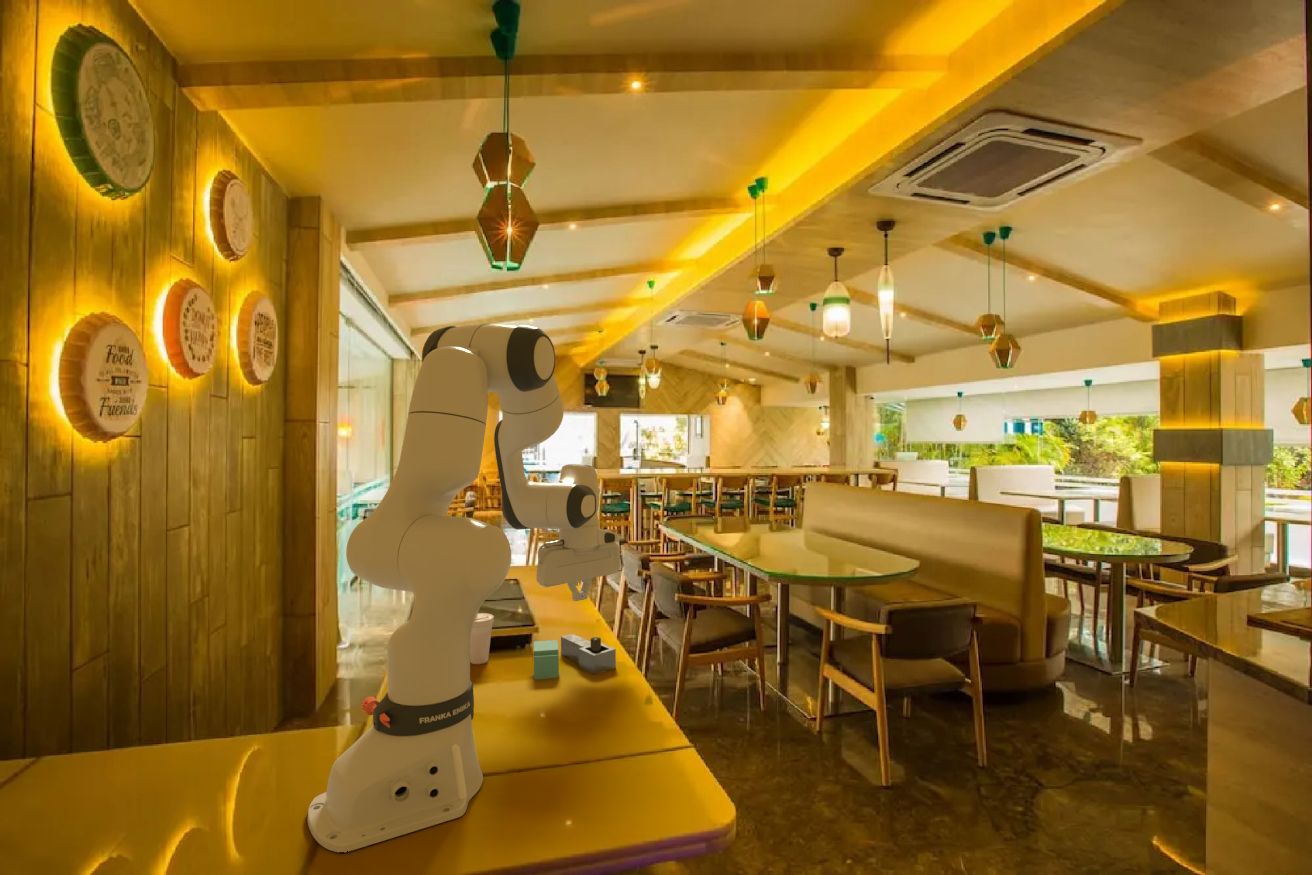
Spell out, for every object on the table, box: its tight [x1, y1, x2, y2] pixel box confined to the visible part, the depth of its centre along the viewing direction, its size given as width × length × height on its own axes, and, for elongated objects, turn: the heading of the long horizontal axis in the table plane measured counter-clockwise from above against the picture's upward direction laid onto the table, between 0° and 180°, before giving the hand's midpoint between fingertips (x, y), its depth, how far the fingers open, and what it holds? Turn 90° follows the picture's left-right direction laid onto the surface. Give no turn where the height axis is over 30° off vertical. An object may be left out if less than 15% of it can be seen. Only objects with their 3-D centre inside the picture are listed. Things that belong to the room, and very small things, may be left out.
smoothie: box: [470, 612, 495, 665], centre depth 139 cm, size 6×6×14 cm
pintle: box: [590, 636, 602, 653], centre depth 135 cm, size 2×2×6 cm
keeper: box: [533, 639, 560, 680], centre depth 132 cm, size 5×7×5 cm
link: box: [560, 633, 617, 675], centre depth 138 cm, size 15×6×4 cm, turn 41°
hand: (580, 599), depth 139 cm, fingers closed
